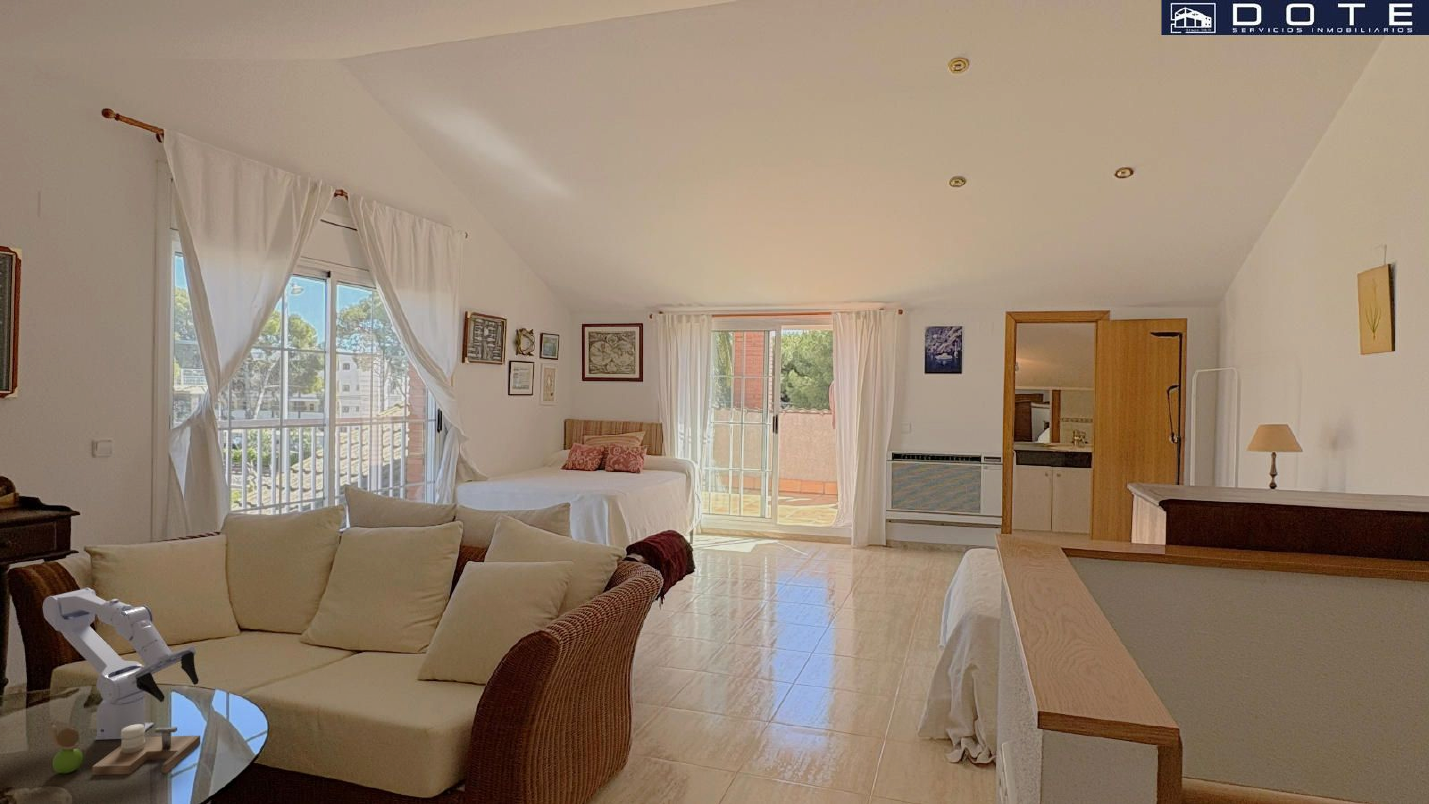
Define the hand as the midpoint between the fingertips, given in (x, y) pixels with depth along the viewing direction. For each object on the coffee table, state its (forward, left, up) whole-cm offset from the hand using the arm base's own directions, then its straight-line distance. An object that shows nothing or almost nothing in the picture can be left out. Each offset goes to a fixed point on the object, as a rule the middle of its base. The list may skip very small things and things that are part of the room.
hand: (180, 691), depth 193 cm
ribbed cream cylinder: (-9, -4, -12) cm, 15 cm away
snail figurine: (-19, -10, -14) cm, 26 cm away
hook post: (-1, -4, -12) cm, 13 cm away
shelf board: (-5, -5, -14) cm, 16 cm away
